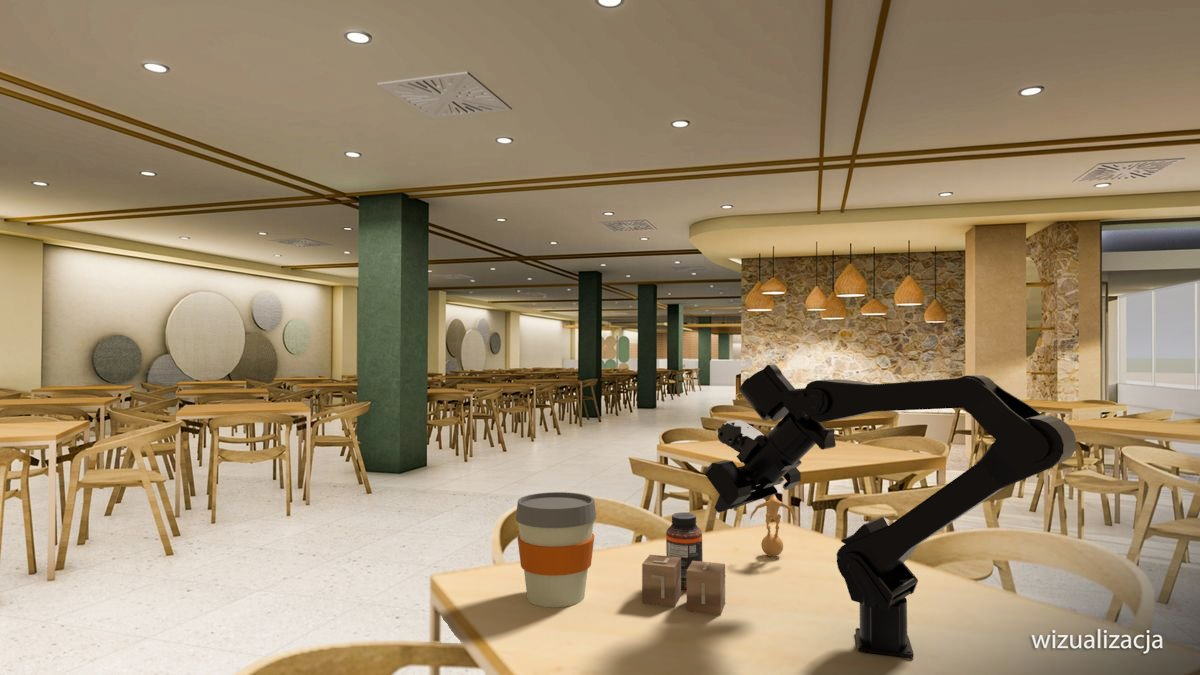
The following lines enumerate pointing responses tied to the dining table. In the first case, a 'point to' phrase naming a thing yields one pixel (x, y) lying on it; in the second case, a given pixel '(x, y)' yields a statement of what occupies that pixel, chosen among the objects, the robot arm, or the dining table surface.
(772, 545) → the figurine
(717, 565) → the block one
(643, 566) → the block seven
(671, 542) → the supplement bottle
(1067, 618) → the dining table surface
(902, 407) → the robot arm
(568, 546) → the reusable coffee cup
